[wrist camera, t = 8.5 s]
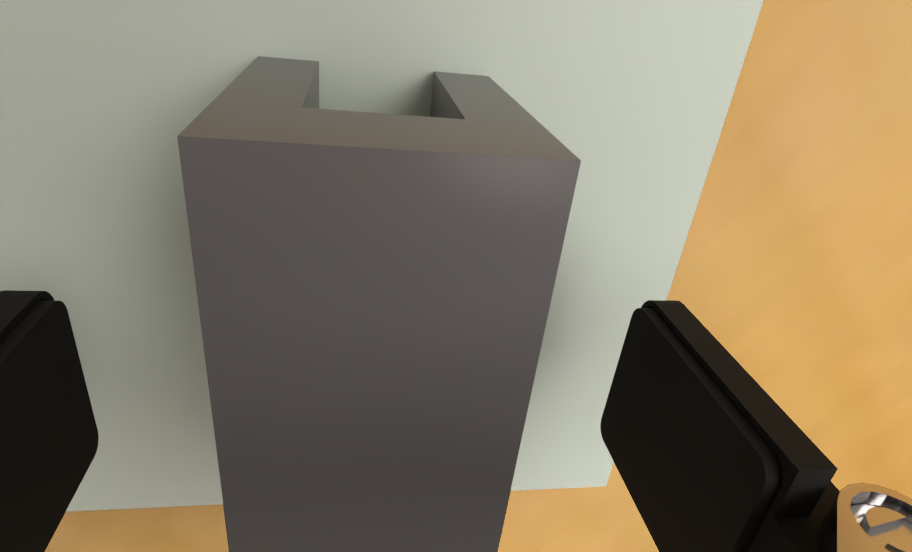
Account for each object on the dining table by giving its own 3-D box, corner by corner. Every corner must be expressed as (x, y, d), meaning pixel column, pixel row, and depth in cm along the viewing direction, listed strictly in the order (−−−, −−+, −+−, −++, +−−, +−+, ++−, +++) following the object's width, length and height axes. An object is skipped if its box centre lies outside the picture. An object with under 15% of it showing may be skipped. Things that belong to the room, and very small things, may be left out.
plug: (258, 55, 10) (177, 135, 5) (488, 76, 10) (581, 160, 6) (279, 447, 14) (243, 669, 10) (441, 442, 15) (477, 646, 10)
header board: (-1170, -259, 7) (-2637, -467, 4) (723, -19, 12) (875, -9, 8) (-476, 484, 13) (-774, 671, 10) (588, 447, 18) (643, 565, 14)
